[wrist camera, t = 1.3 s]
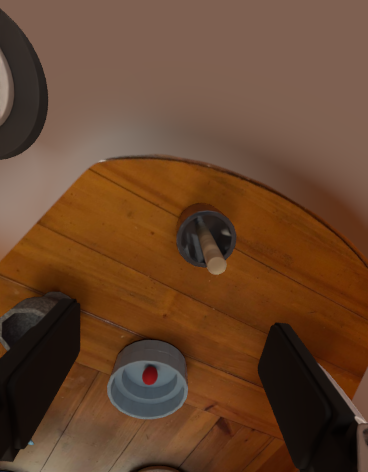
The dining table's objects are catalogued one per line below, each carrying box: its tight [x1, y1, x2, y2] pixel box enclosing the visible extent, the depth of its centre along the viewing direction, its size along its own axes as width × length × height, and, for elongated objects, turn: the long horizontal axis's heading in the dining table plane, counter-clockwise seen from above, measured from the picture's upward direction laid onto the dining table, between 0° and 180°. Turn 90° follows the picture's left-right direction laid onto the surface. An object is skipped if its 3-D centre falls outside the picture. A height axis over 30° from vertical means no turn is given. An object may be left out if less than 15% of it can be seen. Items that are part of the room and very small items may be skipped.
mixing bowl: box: [107, 340, 188, 419], centre depth 38 cm, size 14×14×5 cm
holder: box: [177, 203, 236, 268], centre depth 29 cm, size 8×8×7 cm
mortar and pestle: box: [0, 292, 71, 351], centre depth 31 cm, size 11×9×12 cm
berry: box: [142, 366, 158, 385], centre depth 39 cm, size 3×3×3 cm
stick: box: [196, 222, 226, 274], centre depth 25 cm, size 2×2×14 cm
